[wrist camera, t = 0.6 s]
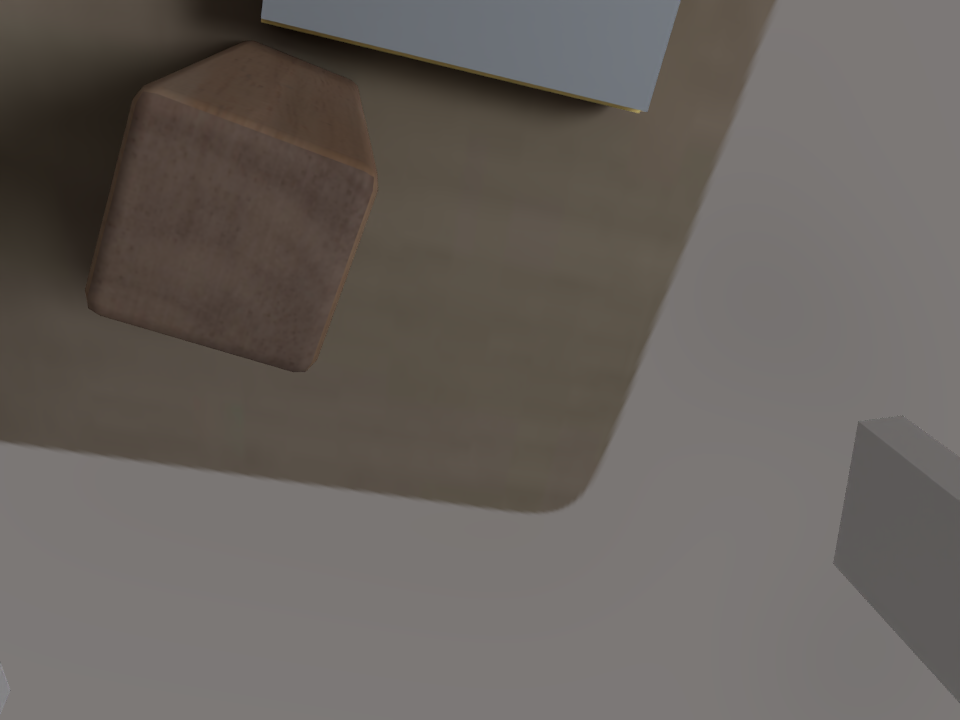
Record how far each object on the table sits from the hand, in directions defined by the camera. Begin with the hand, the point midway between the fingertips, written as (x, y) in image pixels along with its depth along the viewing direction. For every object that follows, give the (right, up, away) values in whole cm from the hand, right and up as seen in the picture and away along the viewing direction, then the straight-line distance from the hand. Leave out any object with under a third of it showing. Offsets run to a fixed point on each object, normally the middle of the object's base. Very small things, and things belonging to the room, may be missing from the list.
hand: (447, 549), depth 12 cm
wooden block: (-8, +10, +20) cm, 24 cm away
